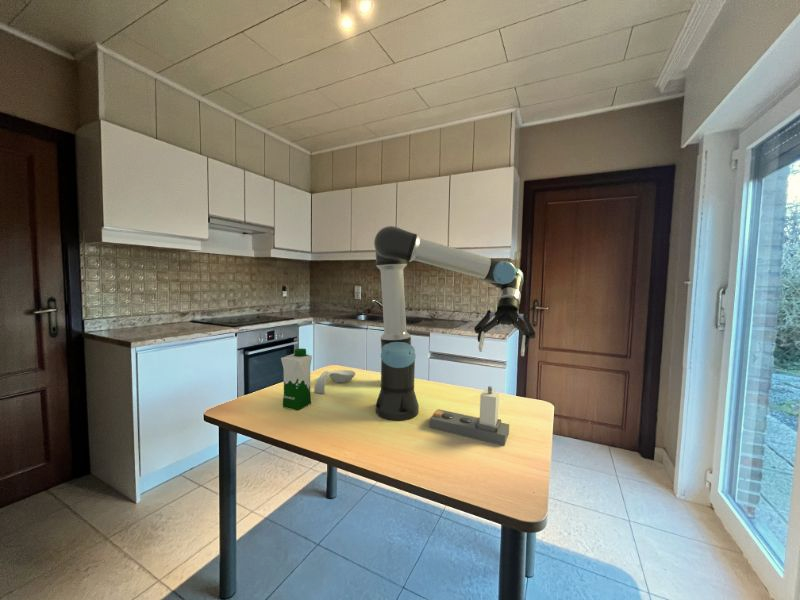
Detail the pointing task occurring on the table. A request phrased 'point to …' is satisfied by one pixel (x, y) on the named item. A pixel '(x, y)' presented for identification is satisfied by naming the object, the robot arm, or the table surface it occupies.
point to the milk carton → (296, 380)
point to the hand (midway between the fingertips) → (500, 351)
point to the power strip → (469, 426)
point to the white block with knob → (489, 407)
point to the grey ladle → (333, 378)
